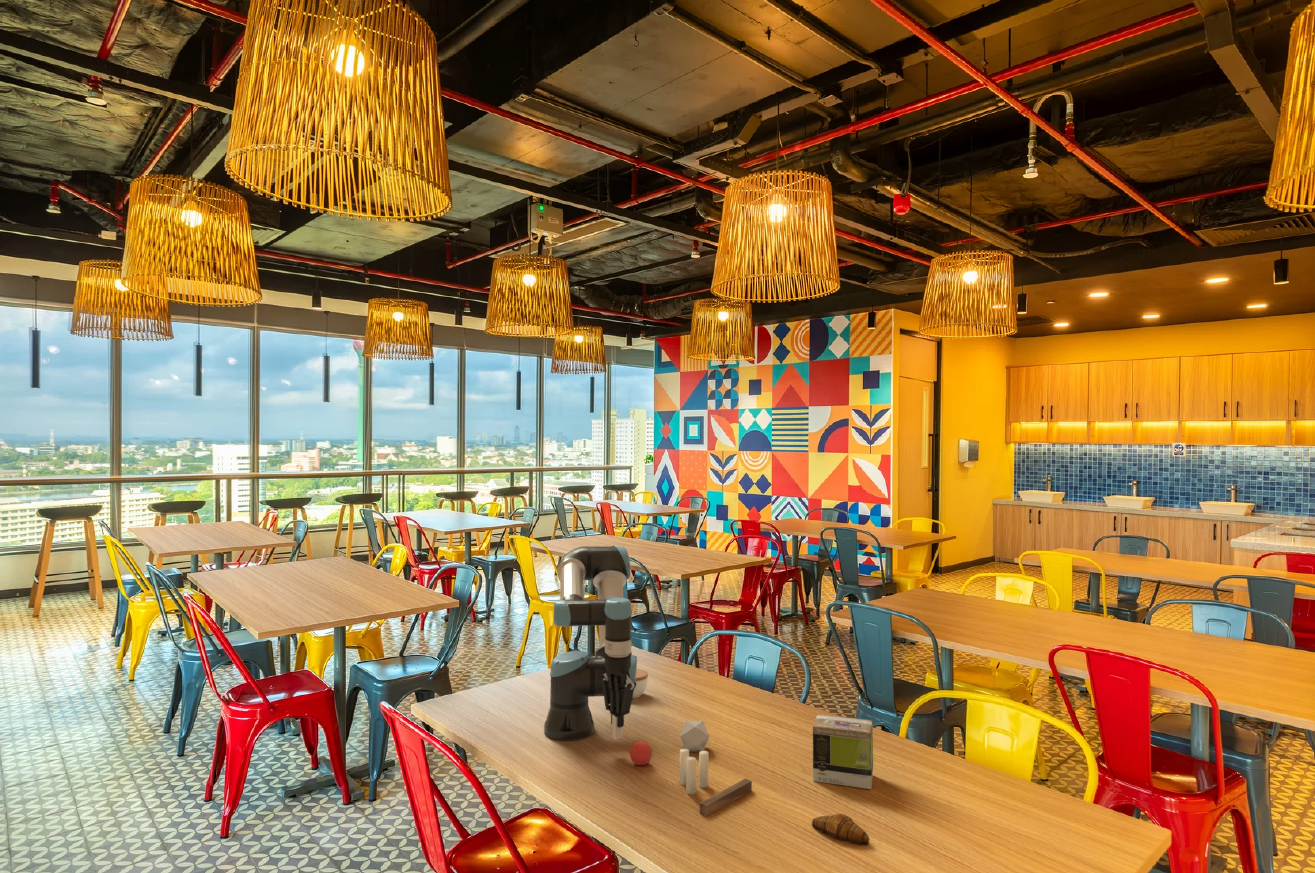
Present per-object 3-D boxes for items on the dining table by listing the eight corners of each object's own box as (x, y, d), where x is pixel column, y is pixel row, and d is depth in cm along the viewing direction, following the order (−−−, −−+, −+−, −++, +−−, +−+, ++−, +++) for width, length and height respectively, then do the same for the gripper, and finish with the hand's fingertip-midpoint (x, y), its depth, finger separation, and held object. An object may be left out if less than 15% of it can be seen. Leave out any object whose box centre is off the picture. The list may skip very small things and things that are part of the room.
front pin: (677, 783, 191) (677, 750, 191) (683, 780, 193) (684, 747, 193) (684, 786, 189) (684, 753, 189) (690, 783, 191) (690, 750, 191)
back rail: (699, 813, 175) (700, 802, 175) (745, 788, 188) (745, 778, 188) (706, 816, 174) (706, 805, 174) (751, 790, 187) (751, 780, 187)
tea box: (873, 774, 197) (873, 719, 197) (871, 791, 188) (871, 733, 188) (816, 765, 202) (816, 712, 202) (811, 781, 192) (812, 725, 193)
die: (699, 760, 206) (716, 729, 209) (673, 743, 208) (691, 712, 211) (697, 759, 214) (714, 729, 217) (672, 742, 215) (689, 712, 218)
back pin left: (697, 785, 190) (697, 752, 190) (703, 782, 191) (703, 749, 191) (704, 788, 188) (704, 755, 188) (710, 785, 190) (710, 752, 190)
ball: (625, 764, 202) (625, 742, 202) (640, 757, 206) (640, 736, 206) (640, 771, 198) (640, 748, 198) (656, 764, 202) (656, 742, 202)
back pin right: (684, 792, 186) (684, 758, 186) (690, 789, 188) (690, 755, 188) (691, 795, 184) (691, 761, 184) (697, 792, 186) (697, 758, 186)
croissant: (874, 839, 165) (874, 817, 165) (863, 853, 159) (863, 830, 159) (818, 820, 173) (818, 799, 173) (806, 832, 167) (806, 811, 167)
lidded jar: (647, 700, 252) (647, 673, 252) (616, 700, 252) (616, 673, 252) (648, 690, 262) (648, 664, 262) (618, 689, 262) (618, 663, 262)
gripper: (592, 651, 210) (592, 734, 210) (624, 661, 201) (623, 747, 201) (612, 647, 216) (611, 727, 215) (643, 655, 207) (642, 740, 206)
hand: (617, 737), depth 208 cm, fingers closed
